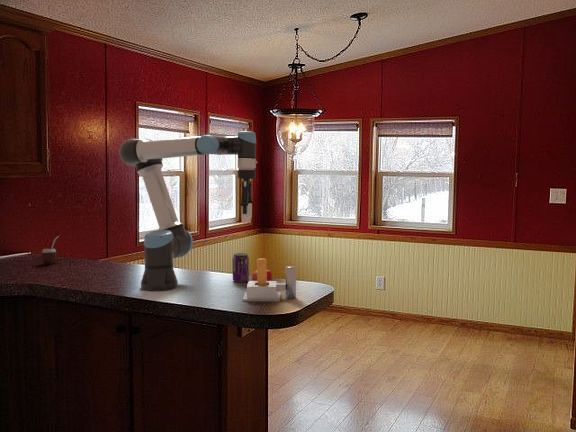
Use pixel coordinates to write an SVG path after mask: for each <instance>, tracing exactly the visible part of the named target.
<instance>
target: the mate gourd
mask: <svg viewBox="0 0 576 432" xmlns="http://www.w3.org/2000/svg"><path fill="white" fill-rule="evenodd" d="M59 237H60V235H58V236H57V237H55V238H54V239H53V242H52V245H51V248H50V247H49V248H44V249H43V250H42V251H41V259H42V262H43V264H42V265H43V266H53V265H55V264H56V261H57V251H56V249H55V248H54V245H55V243H56V240H57V239H58V238H59Z"/></svg>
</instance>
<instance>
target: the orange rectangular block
mask: <svg viewBox="0 0 576 432" xmlns="http://www.w3.org/2000/svg"><path fill="white" fill-rule="evenodd" d="M267 265H268V264H267V258H257V259H256V270H257V285H267V270H268V269H267V268H268V267H267Z"/></svg>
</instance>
